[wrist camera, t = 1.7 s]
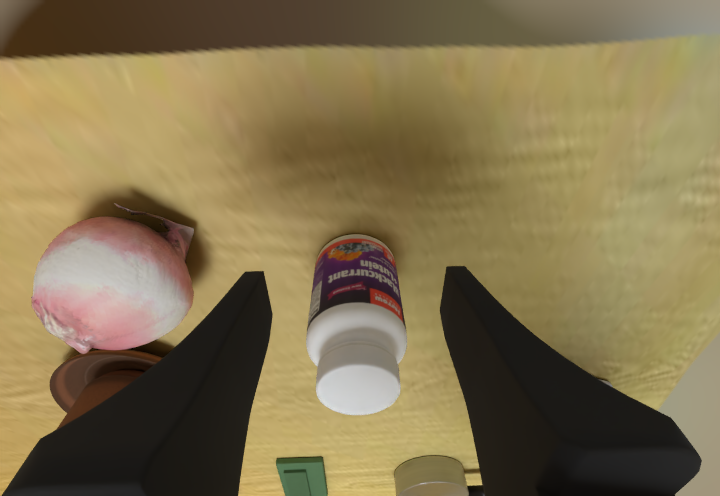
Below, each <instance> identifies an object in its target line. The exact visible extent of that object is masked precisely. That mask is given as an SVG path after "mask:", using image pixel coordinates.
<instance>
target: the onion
mask: <svg viewBox="0 0 720 496" xmlns="http://www.w3.org/2000/svg"><path fill="white" fill-rule="evenodd" d="M114 204H115V205H116V206H117V207H119V208H121V209H124V210H126V211H129V212H131V215H134V214H136V215H143V214H144V215H148V216H152V217H155V218H159V219H163V222H164V223H162V224H160V225H163V226H164V227H165V228H167V229H168V230H169V231H168V232H156V231H154V230H153V229H151V228H149V227H148V226H146V225H144V224H142V223H139V222H137V221H133V220H130V219H125V218H119V217H110V216H108V217H94V218H90V219H87V220H83V221H79V222H77V223H76V224H74V225H72V226H70V227H68V228H66V229H65V230H64V231H63V232H61V233H60V234H59V235H58V236H57V237H56V238H55V239H53V241H52V242H51V243H50V244H49V246H48V248H47V249H46V251H45V252H44V254H43V255H42V257H41V259H40V261H39V263H38V265H37V268H36V272H35V276H34V287H33V296H32V297H31V298H32V308H33V309H34V311H35V312H36V314H37V316H38V317H39V319H40V320H41V322H42V323H43V325H44V327H45V328H46V330H47V331H48V332H49V333H51V334H53V335H54V336H56V337H58V338H60V339H62V340H63V341H65V343H66V344H68V345H70V346H72V347H74V348H75V349H76V350H77V351H79V352H80V353H82V354H85V353H87V352H88V351H89V350H90V349H91V348H97V349H103V350H125V349H129V348H134V347H137V346H141V345H144V344H147V343H149V342H152V341H154V340H156V339H158V338H160V337H162V336H163V335H165V334H167V333H168V332H170V331H171V330H173V329H174V328H175V327H176V326H178V325H179V324H180V322H181V321H182V320H183V319H184V317H185V316H186V314H187V313H188V311H189V309H190V308H191V306H192V303H193V296H194V295H193V294H194V292H193V289H192V282H191V277H190V274H189V271H188V268H187V266H186V258H187V254H188V250H189V247H190V243H191V240H192V236H193V233H194V228H191V227H187V226H184V225H181V224H178V223H175V222H172V221H170V220H167V219H165V218H162V217H160V216H156V215H151V214H147V213H148V212H141V211H135V210H129V209H127V208H124V207H121V206H120V205H118V204H116V203H114ZM132 213H133V214H132Z"/></svg>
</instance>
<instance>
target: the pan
mask: <svg viewBox="0 0 720 496" xmlns="http://www.w3.org/2000/svg"><path fill="white" fill-rule="evenodd" d="M394 477H395V487H396V496H485V495H484V489H483V485H477V486H467V483H466V478H465V474H464V470H463V467H462V465H461V463H459V462H458V461H457V460H455V459H452V458H449V457H444V456H425V457H419V458H415V459H412V460H409V461H407V462H405V463H403V464H401V465H400V466H399V467H398V468H397V469H396V471H395V474H394Z"/></svg>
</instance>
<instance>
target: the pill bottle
mask: <svg viewBox="0 0 720 496" xmlns="http://www.w3.org/2000/svg"><path fill="white" fill-rule="evenodd" d="M306 345H307V351H308V354H309V356H310V358H311V359H312V361H313V362H314V364H315V365H316V366H317V377H316V393H317V397H318V399H319V400H320V401H321V402H322V403H323V405H325V406H326V407H328V408H329V409H331V410H334V411H336V412H339V413H343V414H348V415H366V414H372V413H376V412H379V411H381V410H384V409H386V408H387V407H389V406H391V405H392V404H393V403H394V402H395V401H396V399H397V398H398V396H399V394H400V378H399V367H398V363H399V362H400V361H401V359H402V358H403V356H404V354H405V351H406V347H407V334H406V326H405V321H404V315H403V309H402V302H401V296H400V290H399V282H398V276H397V269H396V264H395V260H394V257H393V255H392V253H391V251H390V250H389V248H388V247H387V246H386V245H385V244H384V243H382V242H381V241H379V240H378V239H376V238H373V237H370V236H367V235H361V234H351V235H345V236H341V237H338V238H336V239H334V240H332V241H331V242H329V243H328V244H327V245H326V246H325V247H324V248H323V249H322V250H321V252H320V253H319V255H318V258H317V261H316V266H315V273H314V280H313V288H312V296H311V304H310V311H309V320H308V327H307V338H306Z"/></svg>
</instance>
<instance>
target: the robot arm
mask: <svg viewBox="0 0 720 496" xmlns="http://www.w3.org/2000/svg"><path fill="white" fill-rule="evenodd" d="M440 314H441V320H442V326H443V331H444V336H445V339H446V343H447V346H448V349H449V352H450V355H451V358H452V361H453V364H454V367H455V370H456V374H457V377H458V380H459V383H460V386H461V389H462V392H463V395H464V399H465V402H466V406H467V410H468V414H469V419H470V423H471V428H472V433H473V437H474V442H475V447H476V452H477V457H478V462H479V467H480V473H481V478H482V484H483V489H484V495H485V496H675V494H676V493H677V492H678V491H679V490H680V489H681V488H682V487H684V486H685V485H686V484H687V483H688V482H689V481H690V480H691V479H692V478H694V476H695V475H696V474H697V473H698V472H699V469H700V465H701V461H702V460H701V458H700V456H699V454H698V453H697V452H696V450H695V449H694V448H693V446H692V445H691V443H690V442H689V441H688V439H687V438H686V437H685V435H684V434H683V433H682V431H681V430H680V429H679V427H678V426H677V425H676V423H675V422H674V421H673V420H672V419H671V418H670V417H668V416H666V415H664V414H662V413H660V412H658V411H656V410H654V409H652V408H650V407H648V406H646V405H644V404H643V403H641V402H639V401H637V400H635V399H633V398H631V397H629V396H627V395H625V394H623V393H621V392H620V391H618V390H616V389H615V388H613V387H612V385H611V383H610V382H608V381H604V380H600V379H597V378H596V377H594V376H592V375H591V374H589V373H588V372H586V371H584V370H583V369H581V368H580V367H578V366H577V365H575V364H574V363H572V362H571V361H569V360H568V359H566V358H565V357H563V356H562V355H561V354H559V353H558V352H556V351H555V350H554V349H552V348H551V347H550V346H548V345H547V344H546V343H545V342H543V341H542V340H541V339H539V338H538V337H537V336H535V335H534V334H533V333H532V332H531V331H529V330H528V329H527V328H526V327H525V326H524V325H522V324H521V323H520V322H519V321H518V320H517V319H516V318H515V317H513V316H512V315H511V314H510V313H509V312H508V311H507V310H506V309H505V308H504V307H503V306H502V305H501V304H500V303H499V302H498V301H497V300H496V299H495V298H494V297H493V296H492V295H491V294H490V293H489V292H488V291H487V290H486V289H485V287H484V286H483V285H482V284H481V283H480V282H479V281H478V280H477V279H476V278H475V277H474V276H473V274H472V273H471V272H470V271H469V270H468V269H467V268H466V267H465V266H449V267H446V274H445V280H444V286H443V293H442V299H441V305H440ZM271 323H272V310H271V305H270V300H269V295H268V290H267V286H266V281H265V276H264V271H253V272H245V273H244V274H243V275H242V276H241V277H240V278H239V279H238V281H237V282H236V283H235V284H234V285H233V287H232V288H231V289H230V290H229V291H228V293H227V294H226V295H225V296H224V297H223V298H222V300H221V301H220V302H219V303H218V304H217V305H216V306H215V307H214V309H213V310H212V311H211V312H210V313H209V314H208V315H207V316H206V317H205V319H204V320H203V321H202V322H201V323H200V324H199V325H198V326H197V327H196V328H195V329H194V330H193V331H192V332H191V333H190V334H189V335H188V336H187V337H186V338H185V339H184V340H183V341H182V342H180V343H179V344H178V345H177V346H176V347H175V348H174V349H173V350H172V351H170V352H169V353H168V354H167V355H166V356H165V357H164V358H162V359H161V360H160V361H159V362H157V363H156V364H155V365H154V366H152V367H151V368H150V369H148V370H147V371H146V372H144V373H143V374H142V375H140V376H139V377H138V378H136V379H135V380H134V381H132V382H131V383H130V384H128V385H127V386H126V387H124V388H123V389H121V390H120V391H118V392H117V393H115V394H114V395H112V396H111V397H109V398H108V399H106V400H105V401H103V402H102V403H100V404H99V405H97V406H96V407H94V408H92V409H91V410H89V411H88V412H86V413H84V414H83V415H81V416H79V417H78V418H76V419H74V420H72V421H71V422H69V423H67V424H66V425H64V426H62V427H60V428H59V429H57V430H55V431H53V432H52V433H50V434H48V435H46V436H45V437H43V438H41V439H40V440H39V442H38V443H37V444H36V446H35V447H34V448H33V450H32V451H31V453H30V454H29V456H28V457H27V459H26V460H25V462H24V463H23V465H22V466H21V468H20V469H19V471H18V472H17V474H16V475H15V477H14V478H13V480H12V481H11V483H10V484H9V486H8V487H7V489H6V490H5V492H4V493H3V495H2V496H238V491H239V483H240V476H241V469H242V462H243V455H244V448H245V442H246V436H247V430H248V424H249V417H250V413H251V408H252V404H253V400H254V396H255V392H256V388H257V385H258V381H259V377H260V374H261V370H262V366H263V362H264V359H265V355H266V351H267V347H268V343H269V338H270V331H271Z"/></svg>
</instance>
